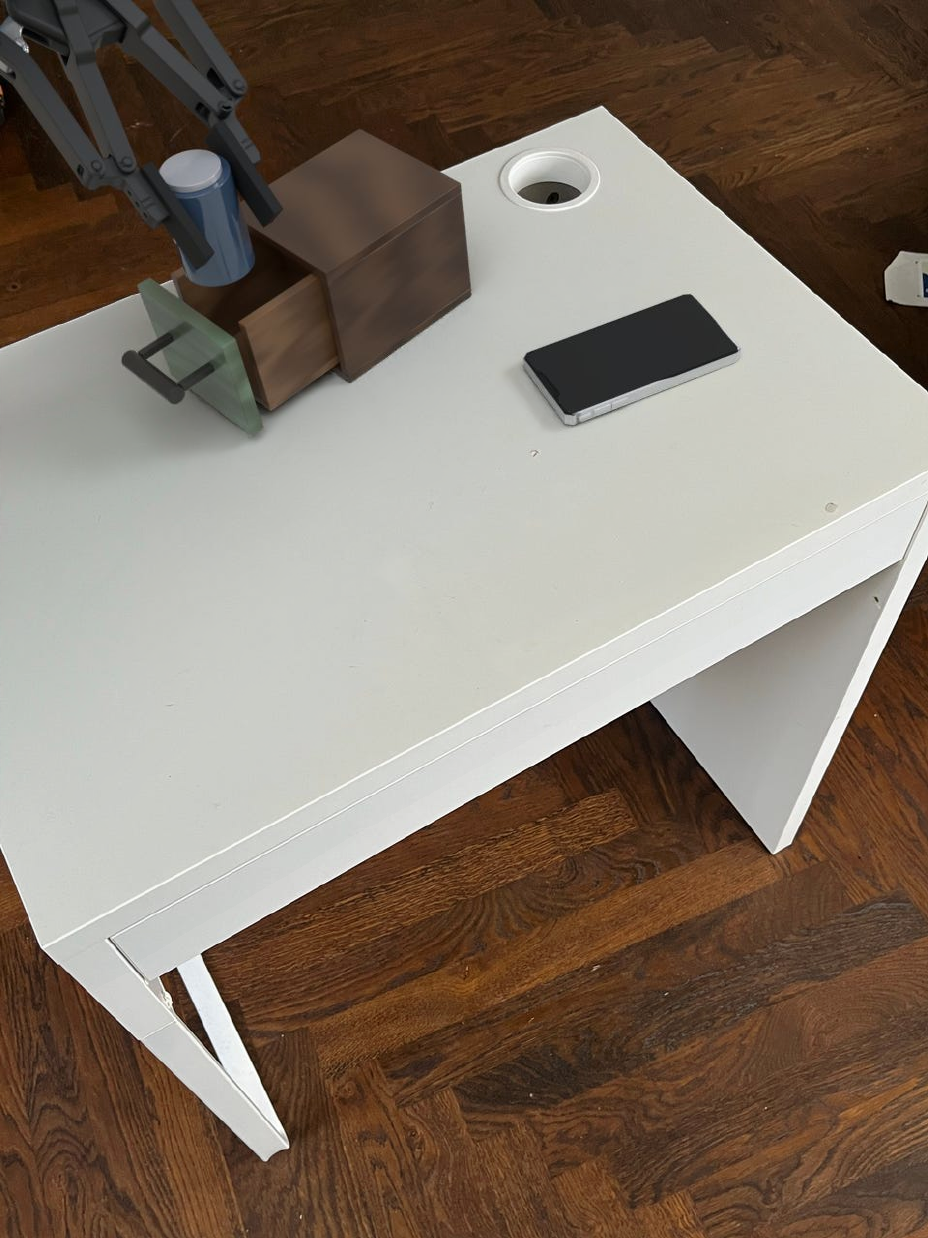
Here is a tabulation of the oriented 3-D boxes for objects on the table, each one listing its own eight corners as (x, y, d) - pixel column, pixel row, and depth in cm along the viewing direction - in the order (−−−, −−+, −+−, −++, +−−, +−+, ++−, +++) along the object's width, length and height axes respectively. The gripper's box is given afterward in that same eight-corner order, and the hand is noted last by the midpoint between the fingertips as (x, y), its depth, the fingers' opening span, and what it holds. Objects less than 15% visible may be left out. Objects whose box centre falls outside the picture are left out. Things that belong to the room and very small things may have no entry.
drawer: (208, 468, 85) (173, 380, 78) (128, 403, 90) (88, 314, 83) (374, 349, 91) (356, 257, 84) (291, 294, 96) (267, 202, 88)
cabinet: (350, 383, 90) (325, 273, 82) (258, 320, 95) (226, 210, 87) (472, 295, 95) (461, 182, 86) (378, 240, 100) (359, 128, 92)
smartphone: (744, 350, 87) (568, 418, 84) (742, 362, 88) (568, 430, 85) (688, 290, 92) (520, 353, 89) (687, 302, 93) (520, 365, 90)
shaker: (213, 296, 78) (182, 200, 72) (170, 266, 80) (136, 171, 74) (269, 260, 80) (244, 163, 74) (226, 231, 82) (197, 135, 76)
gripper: (118, -120, 76) (324, 193, 82) (-126, -5, 69) (118, 325, 75) (138, -194, 69) (362, 153, 75) (-129, -75, 63) (138, 294, 69)
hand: (239, 238), depth 75 cm, fingers closed on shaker, 5 cm apart
